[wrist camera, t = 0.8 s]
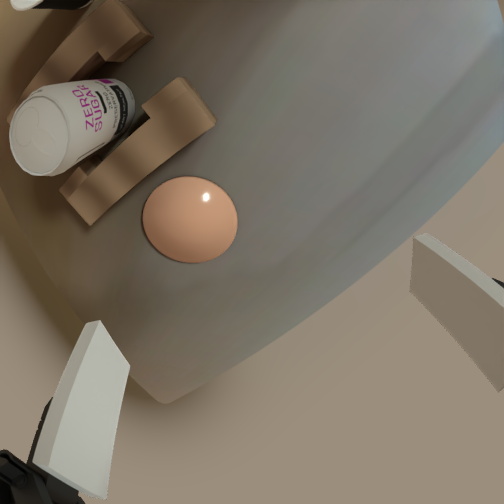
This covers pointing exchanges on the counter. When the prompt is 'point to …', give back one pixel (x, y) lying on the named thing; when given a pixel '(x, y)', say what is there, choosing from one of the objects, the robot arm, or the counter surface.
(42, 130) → the supplement can
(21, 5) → the dixie cup
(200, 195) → the peach smooth rounded piece
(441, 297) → the robot arm
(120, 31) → the walnut caddy
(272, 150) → the counter surface
